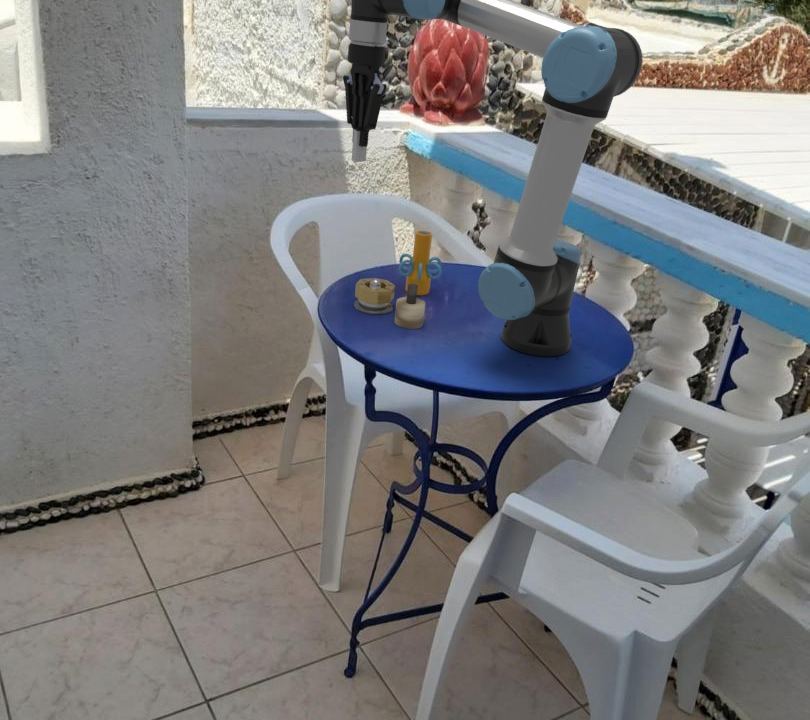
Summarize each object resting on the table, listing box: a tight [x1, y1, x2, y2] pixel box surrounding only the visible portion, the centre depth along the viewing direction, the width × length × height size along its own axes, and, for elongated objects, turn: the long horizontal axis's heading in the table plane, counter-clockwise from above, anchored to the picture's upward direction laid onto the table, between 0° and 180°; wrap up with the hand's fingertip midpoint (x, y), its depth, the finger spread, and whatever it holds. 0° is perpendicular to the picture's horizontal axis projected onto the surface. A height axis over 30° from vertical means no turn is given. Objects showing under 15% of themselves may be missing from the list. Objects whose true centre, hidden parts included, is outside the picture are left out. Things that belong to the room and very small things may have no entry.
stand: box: [394, 284, 426, 330], centre depth 170 cm, size 6×6×9 cm
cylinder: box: [398, 229, 442, 296], centre depth 187 cm, size 12×10×15 cm
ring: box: [354, 277, 396, 304], centre depth 176 cm, size 8×8×3 cm
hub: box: [353, 278, 394, 316], centre depth 177 cm, size 9×9×7 cm
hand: (358, 160), depth 166 cm, fingers closed
